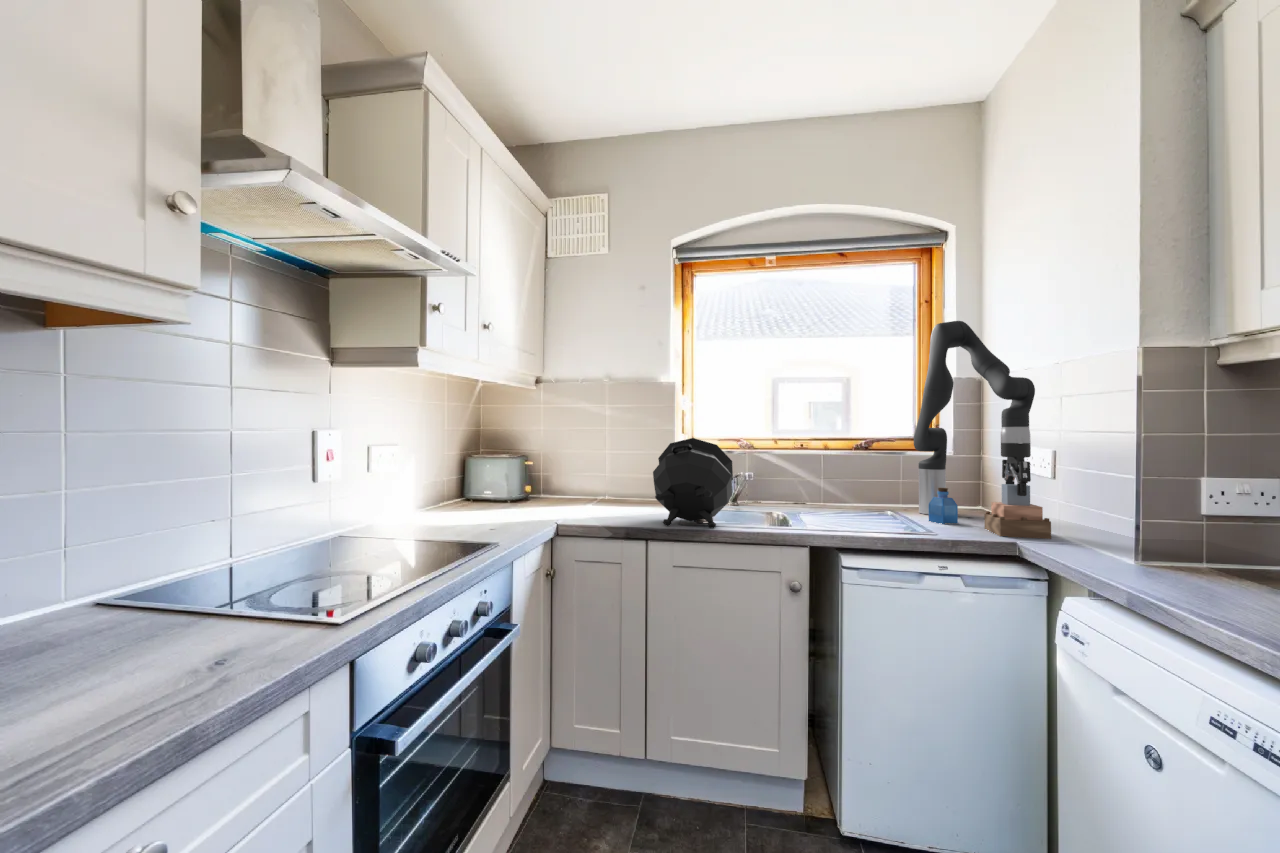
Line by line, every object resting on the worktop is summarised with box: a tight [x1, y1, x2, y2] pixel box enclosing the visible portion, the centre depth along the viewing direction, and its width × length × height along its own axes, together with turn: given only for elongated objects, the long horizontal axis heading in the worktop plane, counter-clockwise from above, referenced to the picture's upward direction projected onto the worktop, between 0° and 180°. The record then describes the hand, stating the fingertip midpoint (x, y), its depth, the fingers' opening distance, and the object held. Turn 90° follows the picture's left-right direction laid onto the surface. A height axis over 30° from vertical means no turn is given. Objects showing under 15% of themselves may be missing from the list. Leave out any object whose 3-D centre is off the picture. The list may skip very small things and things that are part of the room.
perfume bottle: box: [928, 487, 959, 525], centre depth 185 cm, size 6×6×12 cm
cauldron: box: [652, 437, 734, 529], centre depth 179 cm, size 28×28×24 cm
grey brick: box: [1001, 483, 1031, 506], centre depth 164 cm, size 4×6×6 cm
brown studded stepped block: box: [983, 501, 1052, 540], centre depth 163 cm, size 13×13×9 cm
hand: (1015, 494), depth 163 cm, fingers open, 8 cm apart
